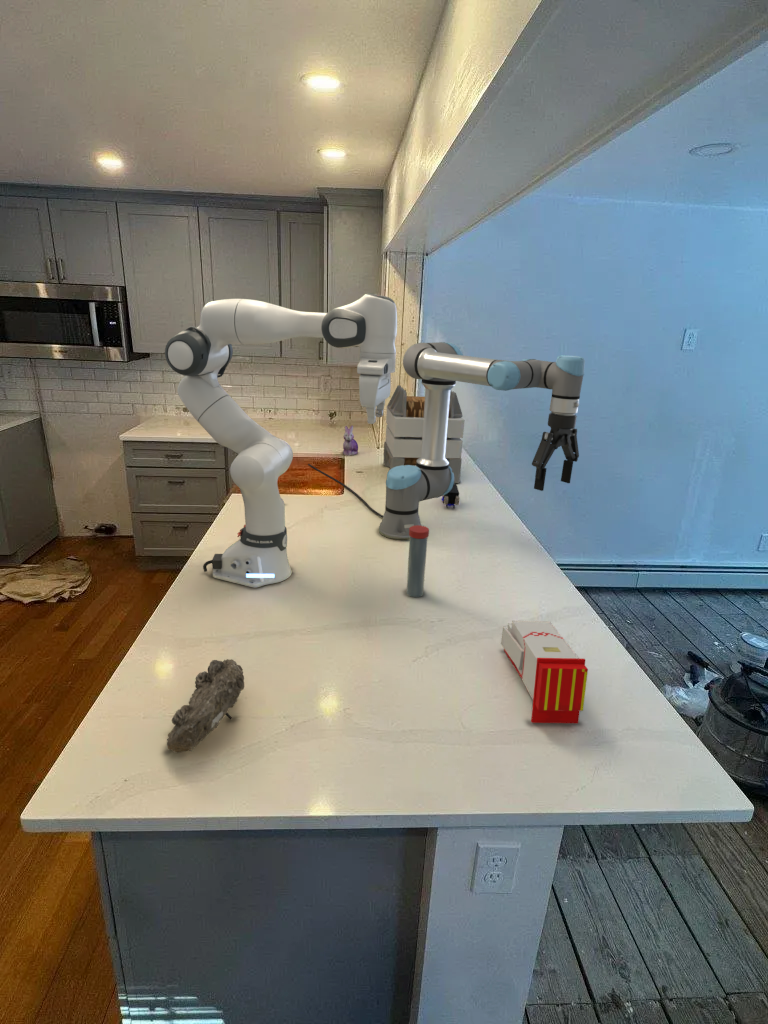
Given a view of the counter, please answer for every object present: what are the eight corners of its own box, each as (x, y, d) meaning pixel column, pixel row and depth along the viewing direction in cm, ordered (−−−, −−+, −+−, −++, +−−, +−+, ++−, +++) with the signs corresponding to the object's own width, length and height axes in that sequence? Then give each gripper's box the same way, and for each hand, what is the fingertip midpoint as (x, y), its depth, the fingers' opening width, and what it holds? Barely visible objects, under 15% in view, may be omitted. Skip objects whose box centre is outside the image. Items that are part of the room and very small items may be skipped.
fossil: (192, 660, 117) (244, 628, 112) (224, 691, 120) (276, 661, 115) (142, 746, 98) (202, 712, 93) (182, 779, 101) (242, 748, 96)
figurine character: (459, 513, 226) (454, 497, 240) (461, 496, 223) (456, 481, 236) (442, 513, 226) (439, 497, 239) (444, 496, 222) (440, 480, 236)
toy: (547, 606, 135) (596, 665, 106) (541, 658, 138) (589, 729, 108) (496, 604, 134) (532, 664, 105) (492, 657, 137) (526, 729, 108)
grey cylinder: (404, 589, 160) (408, 527, 154) (420, 588, 162) (424, 526, 155) (409, 597, 156) (413, 534, 150) (425, 596, 157) (430, 533, 151)
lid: (406, 531, 155) (406, 525, 154) (425, 530, 156) (425, 524, 155) (412, 539, 150) (412, 533, 149) (431, 538, 151) (431, 532, 150)
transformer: (382, 463, 289) (386, 382, 275) (445, 464, 293) (451, 384, 279) (390, 482, 257) (394, 392, 243) (460, 483, 261) (468, 394, 247)
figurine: (346, 456, 299) (346, 428, 294) (338, 451, 308) (338, 424, 302) (362, 454, 303) (363, 427, 298) (354, 450, 312) (354, 423, 307)
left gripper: (374, 360, 150) (372, 412, 155) (355, 367, 131) (353, 426, 136) (397, 361, 149) (394, 414, 154) (381, 368, 130) (379, 428, 135)
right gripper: (548, 419, 148) (537, 496, 155) (598, 411, 163) (586, 482, 171) (525, 414, 153) (515, 489, 160) (575, 407, 169) (564, 476, 176)
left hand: (375, 419), depth 145 cm, fingers open, 8 cm apart
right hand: (552, 485), depth 166 cm, fingers open, 13 cm apart
